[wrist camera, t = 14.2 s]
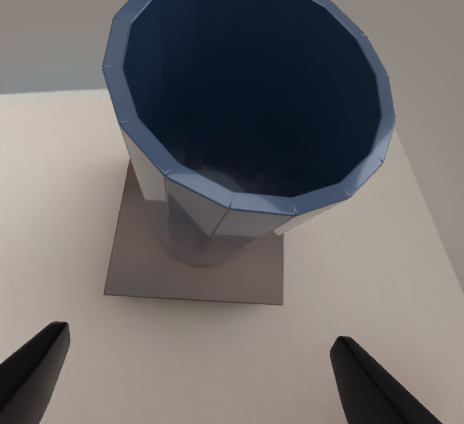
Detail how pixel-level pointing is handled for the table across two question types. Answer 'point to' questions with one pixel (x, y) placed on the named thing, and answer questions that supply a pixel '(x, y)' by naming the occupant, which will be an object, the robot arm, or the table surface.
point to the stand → (185, 263)
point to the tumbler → (244, 116)
